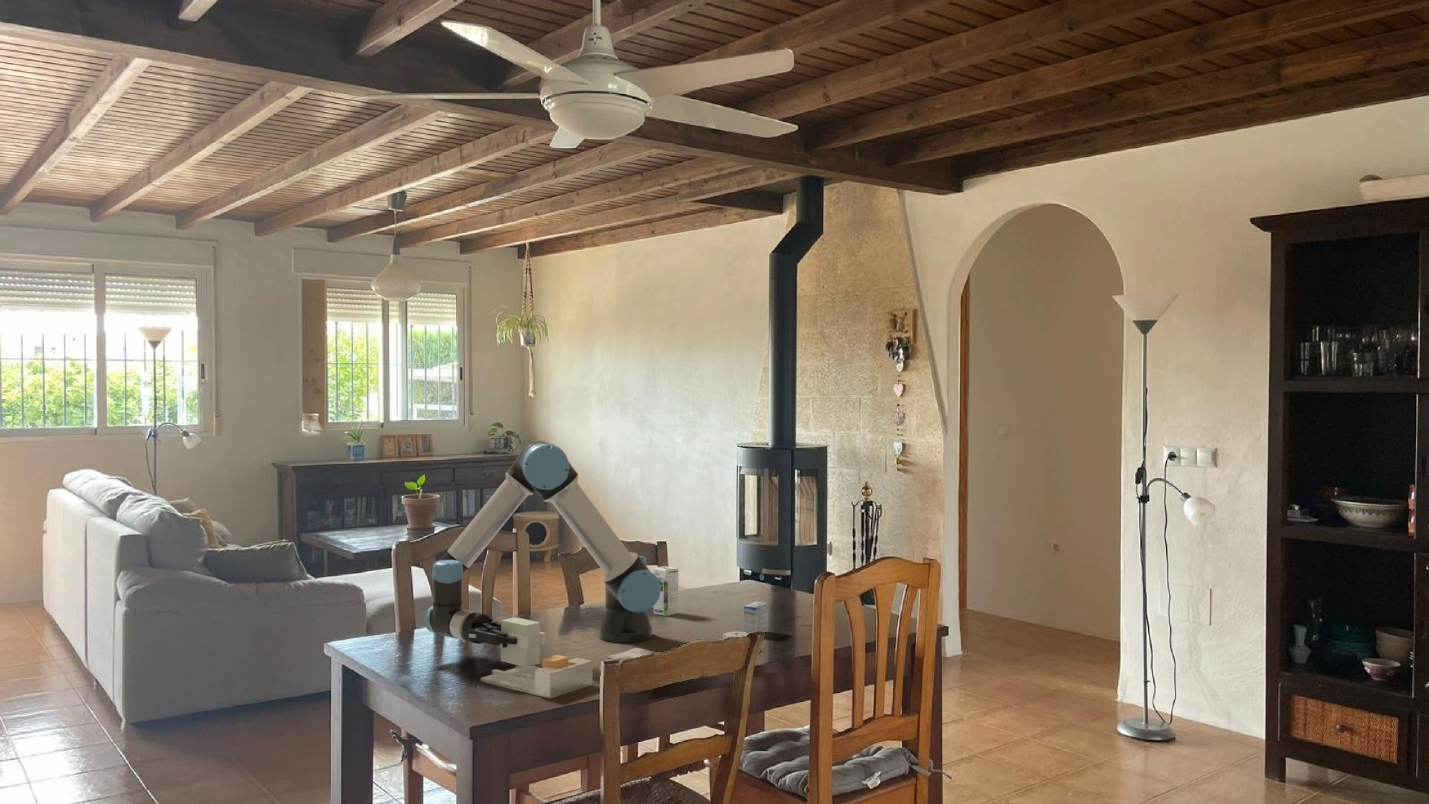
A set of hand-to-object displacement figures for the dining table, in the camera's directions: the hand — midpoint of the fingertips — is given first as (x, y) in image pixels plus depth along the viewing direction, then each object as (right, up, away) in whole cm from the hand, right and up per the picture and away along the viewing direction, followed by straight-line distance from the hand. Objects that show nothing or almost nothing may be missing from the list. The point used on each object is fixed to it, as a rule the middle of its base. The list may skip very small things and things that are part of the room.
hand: (535, 640), depth 255 cm
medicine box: (+55, -10, +50) cm, 75 cm away
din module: (-4, -6, +3) cm, 8 cm away
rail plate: (0, -10, 0) cm, 10 cm away
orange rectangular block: (+5, -9, -4) cm, 11 cm away
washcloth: (+25, -11, +17) cm, 32 cm away
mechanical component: (+49, -10, +33) cm, 60 cm away
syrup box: (+28, -9, +77) cm, 83 cm away
